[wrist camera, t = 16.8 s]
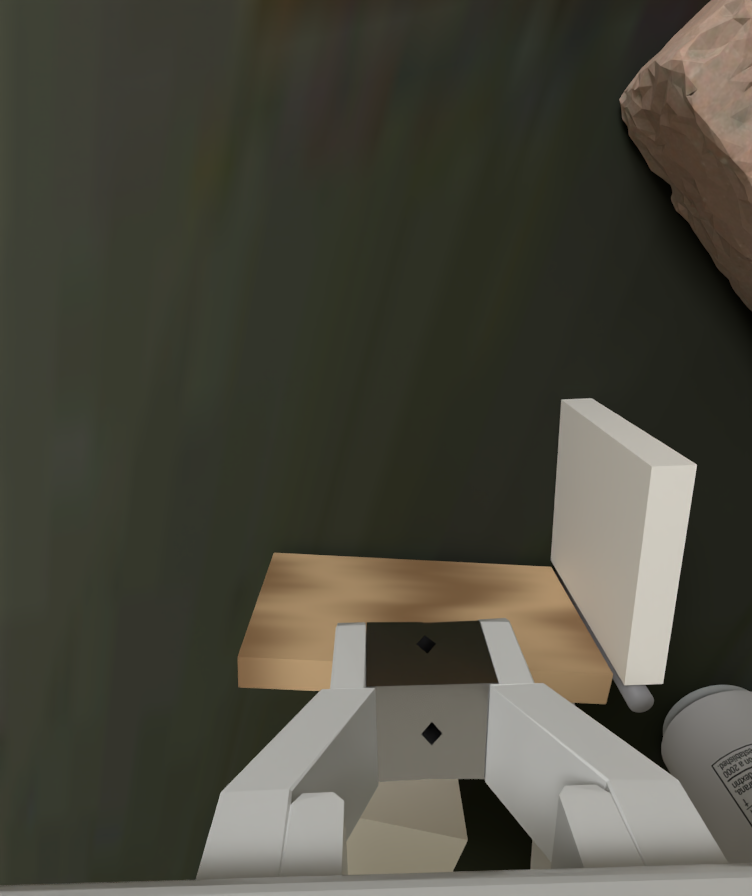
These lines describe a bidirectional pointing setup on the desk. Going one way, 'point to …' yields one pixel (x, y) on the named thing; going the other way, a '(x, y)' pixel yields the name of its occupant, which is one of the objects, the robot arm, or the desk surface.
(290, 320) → the desk surface
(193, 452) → the desk surface
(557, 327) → the desk surface
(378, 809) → the block
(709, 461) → the desk surface
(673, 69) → the brick
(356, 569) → the door
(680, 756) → the energy drink can
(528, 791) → the robot arm
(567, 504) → the doorframe
